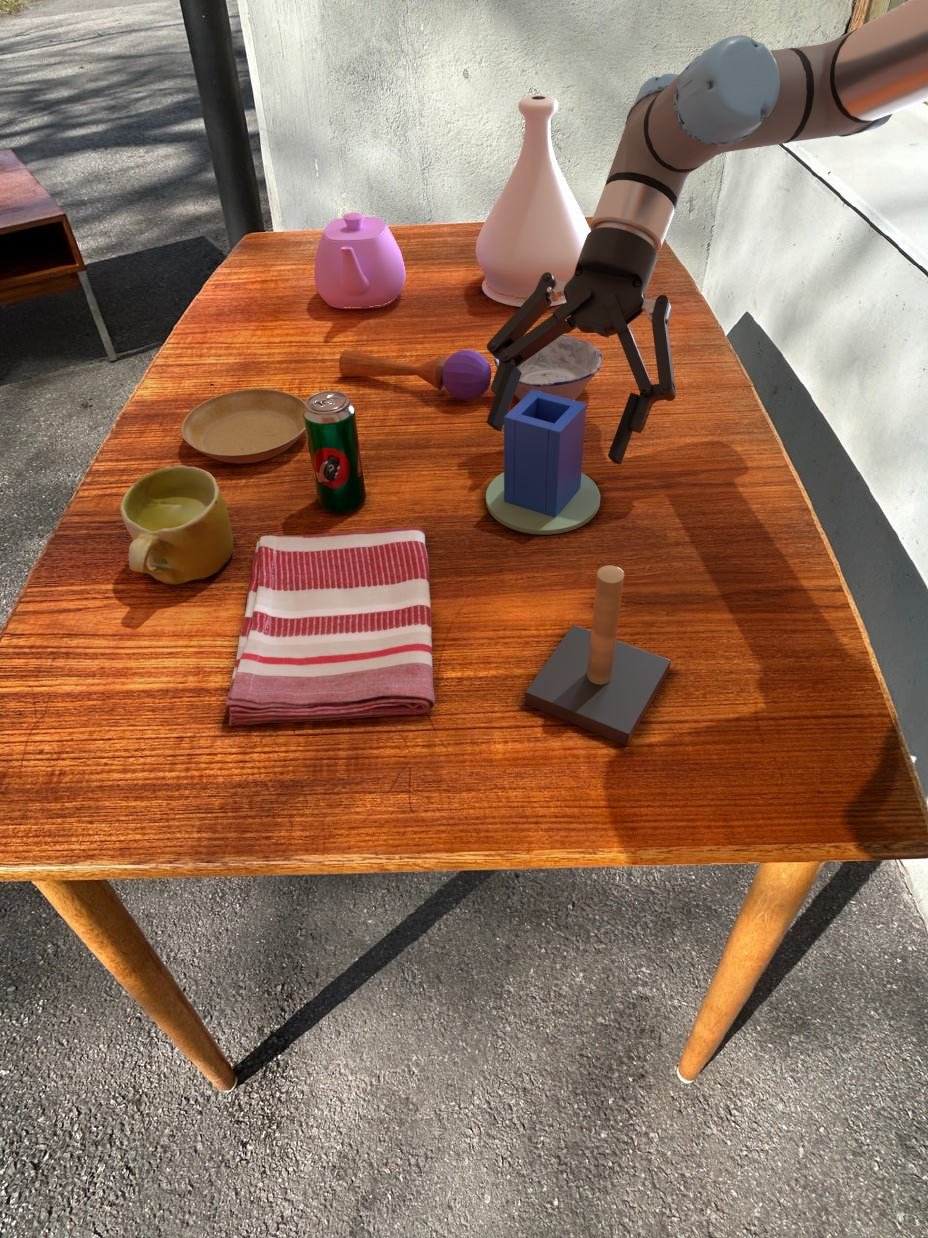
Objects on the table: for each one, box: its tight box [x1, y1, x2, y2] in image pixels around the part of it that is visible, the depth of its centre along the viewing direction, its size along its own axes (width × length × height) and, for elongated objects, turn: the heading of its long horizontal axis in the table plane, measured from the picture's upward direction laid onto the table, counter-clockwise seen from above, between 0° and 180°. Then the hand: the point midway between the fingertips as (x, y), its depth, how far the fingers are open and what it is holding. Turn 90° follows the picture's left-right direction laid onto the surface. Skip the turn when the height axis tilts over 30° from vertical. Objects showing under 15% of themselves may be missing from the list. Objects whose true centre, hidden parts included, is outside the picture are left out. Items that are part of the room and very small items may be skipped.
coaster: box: [485, 471, 601, 536], centre depth 91 cm, size 12×12×1 cm
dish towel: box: [224, 526, 436, 726], centre depth 78 cm, size 17×23×3 cm
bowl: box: [493, 334, 603, 402], centre depth 106 cm, size 13×13×5 cm
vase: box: [474, 94, 591, 308], centre depth 123 cm, size 17×17×25 cm
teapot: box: [313, 211, 407, 310], centre depth 125 cm, size 20×13×12 cm, turn 0°
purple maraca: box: [338, 349, 492, 402], centre depth 108 cm, size 6×6×20 cm
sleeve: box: [503, 390, 588, 518], centre depth 88 cm, size 6×6×10 cm
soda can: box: [303, 390, 367, 515], centre depth 88 cm, size 5×5×12 cm
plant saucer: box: [180, 388, 306, 465], centre depth 101 cm, size 15×15×3 cm
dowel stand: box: [524, 564, 672, 747], centre depth 68 cm, size 9×9×12 cm
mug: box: [119, 464, 235, 585], centre depth 83 cm, size 12×10×10 cm
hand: (552, 443), depth 89 cm, fingers open, 13 cm apart
